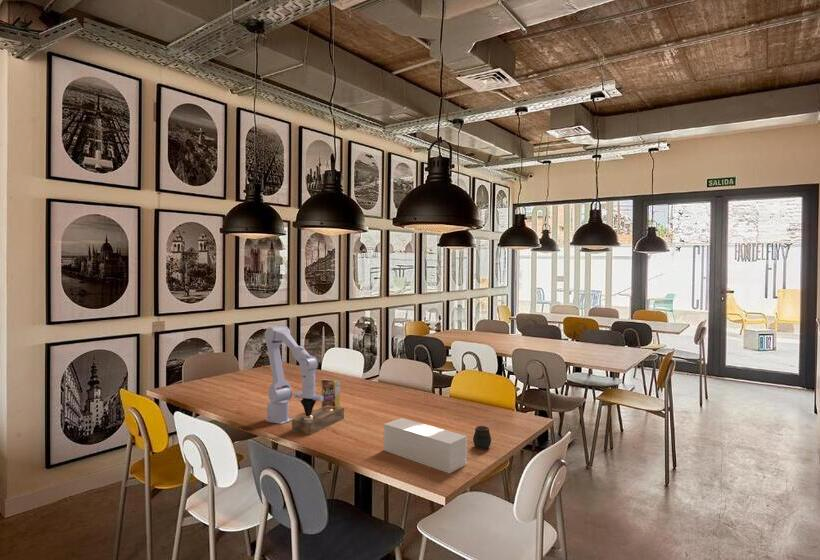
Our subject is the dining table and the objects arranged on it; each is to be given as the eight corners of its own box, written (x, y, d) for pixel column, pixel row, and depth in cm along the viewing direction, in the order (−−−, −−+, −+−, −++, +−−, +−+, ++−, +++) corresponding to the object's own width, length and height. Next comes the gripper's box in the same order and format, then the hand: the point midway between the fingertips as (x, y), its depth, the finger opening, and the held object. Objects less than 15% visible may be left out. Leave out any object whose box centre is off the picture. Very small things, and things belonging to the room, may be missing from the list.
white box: (466, 465, 176) (467, 435, 176) (449, 474, 168) (450, 443, 168) (401, 443, 197) (401, 417, 197) (383, 450, 189) (383, 423, 189)
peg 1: (301, 426, 211) (301, 415, 211) (307, 423, 215) (307, 413, 214) (309, 427, 209) (309, 417, 209) (314, 424, 213) (314, 414, 213)
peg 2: (323, 419, 225) (323, 409, 225) (328, 417, 229) (328, 407, 229) (330, 420, 224) (330, 411, 224) (335, 418, 227) (335, 408, 227)
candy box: (320, 409, 243) (321, 379, 243) (326, 407, 247) (326, 377, 247) (334, 412, 239) (335, 381, 239) (340, 409, 243) (340, 379, 242)
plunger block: (291, 431, 210) (292, 419, 209) (326, 415, 233) (326, 405, 233) (310, 434, 205) (310, 423, 205) (344, 418, 229) (344, 407, 229)
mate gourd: (489, 444, 197) (489, 420, 197) (492, 451, 190) (493, 426, 190) (471, 443, 197) (472, 419, 197) (474, 451, 190) (475, 426, 189)
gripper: (327, 384, 212) (327, 415, 212) (301, 381, 218) (300, 410, 218) (318, 388, 206) (317, 419, 206) (291, 384, 212) (290, 414, 212)
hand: (308, 415), depth 212 cm, fingers closed, pressing on peg 1
